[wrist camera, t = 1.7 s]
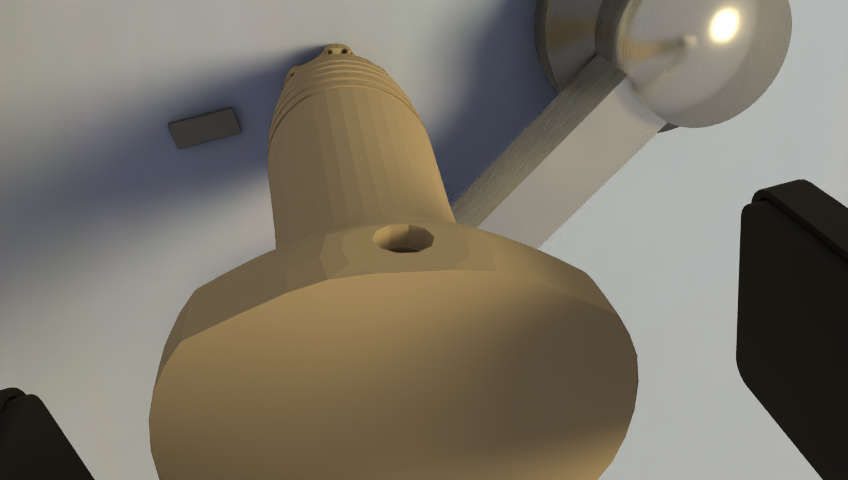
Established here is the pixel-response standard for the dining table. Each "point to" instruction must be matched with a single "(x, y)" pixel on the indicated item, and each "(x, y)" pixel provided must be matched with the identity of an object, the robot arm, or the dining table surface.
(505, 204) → the crank
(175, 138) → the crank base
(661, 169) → the dining table surface
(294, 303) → the handle
